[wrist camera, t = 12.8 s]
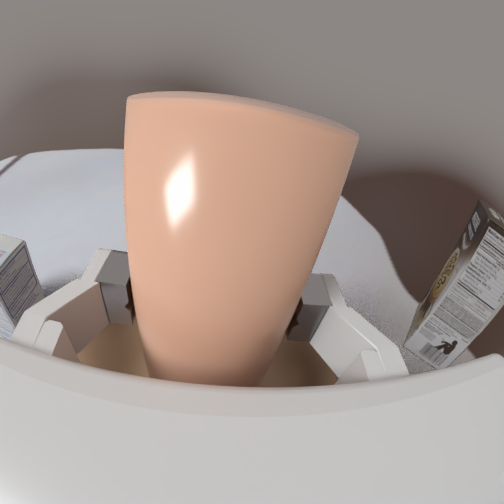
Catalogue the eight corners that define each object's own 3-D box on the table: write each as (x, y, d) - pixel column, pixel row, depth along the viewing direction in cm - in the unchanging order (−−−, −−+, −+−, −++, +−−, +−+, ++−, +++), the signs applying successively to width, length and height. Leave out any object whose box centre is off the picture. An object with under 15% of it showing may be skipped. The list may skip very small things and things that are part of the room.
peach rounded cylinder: (151, 435, 11) (79, 110, 3) (161, 357, 15) (161, 88, 7) (249, 442, 12) (406, 162, 4) (244, 365, 16) (320, 113, 8)
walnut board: (27, 518, 5) (20, 517, 4) (88, 291, 23) (86, 283, 22) (364, 541, 9) (371, 541, 8) (313, 317, 26) (317, 310, 26)
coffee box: (416, 304, 31) (478, 197, 22) (451, 329, 28) (518, 227, 19) (400, 346, 25) (488, 214, 16) (442, 375, 22) (538, 255, 13)
